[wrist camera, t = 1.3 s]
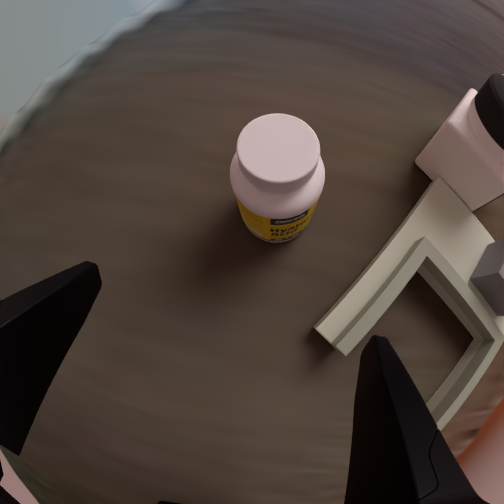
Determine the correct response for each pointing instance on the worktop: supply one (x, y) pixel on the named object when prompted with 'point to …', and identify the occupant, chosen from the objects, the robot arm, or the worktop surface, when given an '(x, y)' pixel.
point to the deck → (443, 283)
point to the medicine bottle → (471, 146)
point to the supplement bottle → (277, 176)
